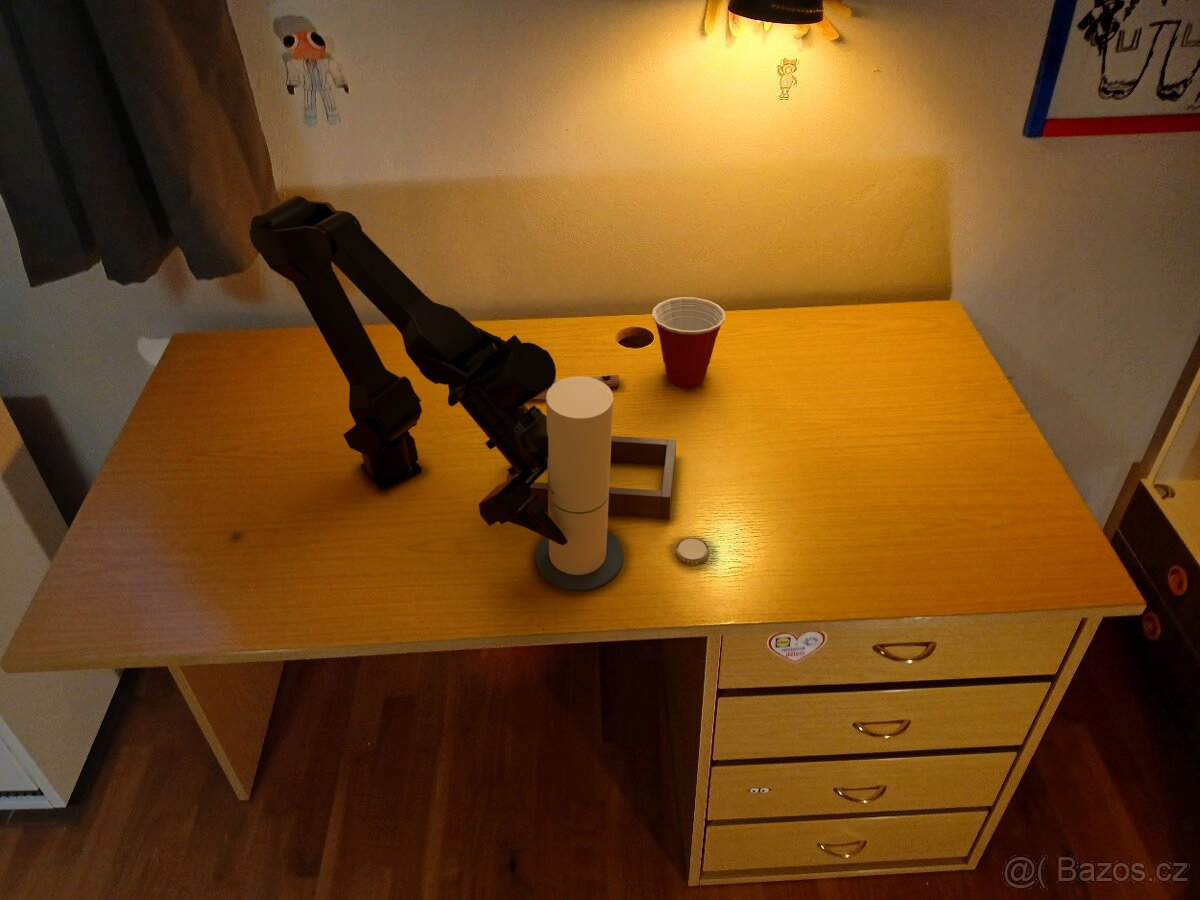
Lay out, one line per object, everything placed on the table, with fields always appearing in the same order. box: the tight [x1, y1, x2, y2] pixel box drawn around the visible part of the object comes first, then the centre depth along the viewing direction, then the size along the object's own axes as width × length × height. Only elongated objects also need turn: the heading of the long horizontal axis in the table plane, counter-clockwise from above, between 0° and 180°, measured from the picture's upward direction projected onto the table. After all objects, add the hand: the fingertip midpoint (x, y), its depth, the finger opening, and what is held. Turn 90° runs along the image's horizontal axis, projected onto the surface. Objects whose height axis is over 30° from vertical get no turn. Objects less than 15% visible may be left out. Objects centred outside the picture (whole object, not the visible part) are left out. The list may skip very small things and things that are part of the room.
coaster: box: [535, 530, 625, 593], centre depth 114 cm, size 11×11×1 cm
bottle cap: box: [675, 537, 709, 565], centre depth 114 cm, size 4×4×1 cm
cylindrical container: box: [545, 375, 614, 575], centre depth 105 cm, size 7×7×25 cm
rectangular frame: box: [505, 435, 677, 520], centre depth 123 cm, size 22×11×4 cm, turn 83°
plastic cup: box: [652, 296, 726, 390], centre depth 138 cm, size 11×11×12 cm
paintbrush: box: [532, 374, 621, 401], centre depth 139 cm, size 4×3×20 cm
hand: (586, 519), depth 108 cm, fingers open, 9 cm apart
